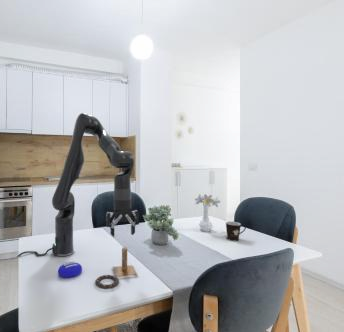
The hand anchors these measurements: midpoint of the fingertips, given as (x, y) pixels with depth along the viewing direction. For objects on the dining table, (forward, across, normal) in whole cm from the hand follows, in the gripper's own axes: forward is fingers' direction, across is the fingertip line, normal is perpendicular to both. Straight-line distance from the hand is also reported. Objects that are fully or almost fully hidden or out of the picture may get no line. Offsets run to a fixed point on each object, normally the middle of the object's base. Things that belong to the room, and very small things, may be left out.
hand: (122, 235), depth 105 cm
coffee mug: (+19, -79, -28) cm, 86 cm away
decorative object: (+18, +22, -7) cm, 30 cm away
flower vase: (+19, -72, -49) cm, 89 cm away
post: (+18, -1, -3) cm, 18 cm away
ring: (+17, +8, +5) cm, 20 cm away
